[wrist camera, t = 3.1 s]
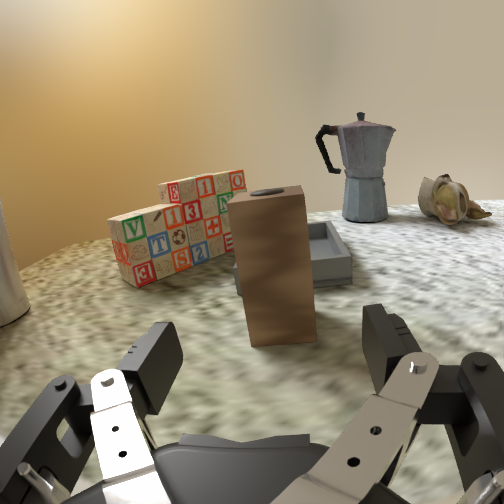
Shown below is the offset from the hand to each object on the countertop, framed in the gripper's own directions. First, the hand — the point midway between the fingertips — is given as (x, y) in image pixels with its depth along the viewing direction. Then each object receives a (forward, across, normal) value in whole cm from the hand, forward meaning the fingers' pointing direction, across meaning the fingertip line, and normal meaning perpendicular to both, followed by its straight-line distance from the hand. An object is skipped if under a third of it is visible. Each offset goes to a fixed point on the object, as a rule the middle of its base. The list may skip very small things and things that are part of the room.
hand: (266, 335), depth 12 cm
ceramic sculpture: (+39, -30, +7) cm, 49 cm away
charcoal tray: (+26, -1, +6) cm, 27 cm away
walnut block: (+11, 0, +7) cm, 13 cm away
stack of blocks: (+32, +15, +7) cm, 36 cm away
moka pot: (+46, -15, +7) cm, 49 cm away
